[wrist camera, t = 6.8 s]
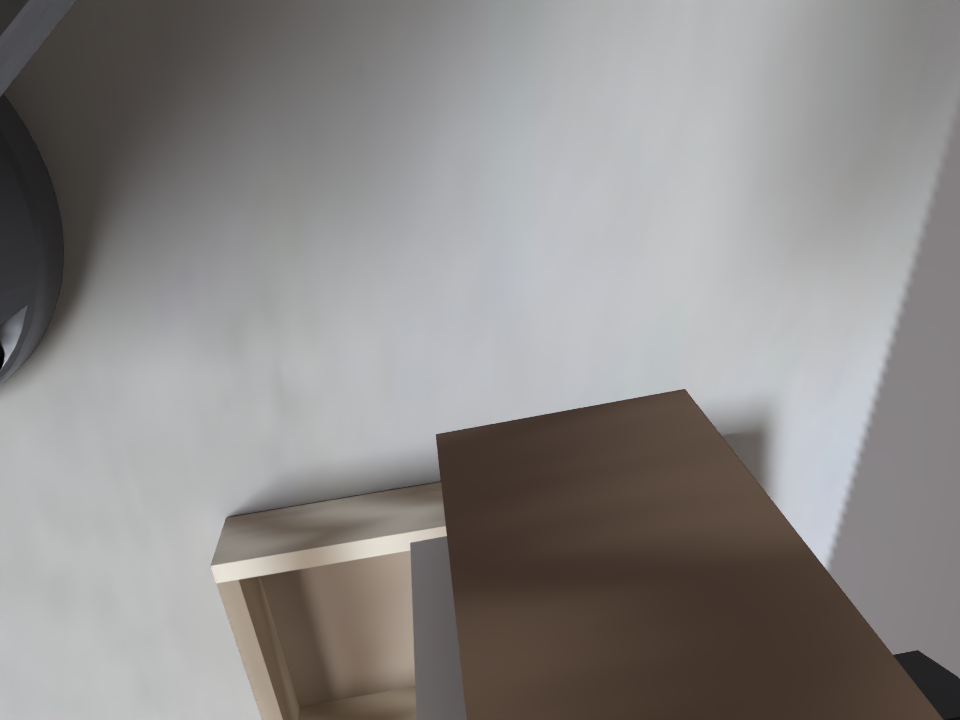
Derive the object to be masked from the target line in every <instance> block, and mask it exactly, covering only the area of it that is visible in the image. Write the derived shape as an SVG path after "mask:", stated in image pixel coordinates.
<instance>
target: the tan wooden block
mask: <svg viewBox="0 0 960 720" xmlns="http://www.w3.org/2000/svg"><path fill="white" fill-rule="evenodd" d="M436 440H437V449H438V459H439V468H440V477H441V486H442V496H443V505H444V514H445V523H446V533H447V542H448V551H449V560H450V570H451V579H452V588H453V598H454V607H455V616H456V625H457V635H458V644H459V653H460V662H461V672H462V681H463V690H464V700H465V709H466V718H467V720H943V719H942V717H941V716H940V715H939V713H938V712H937V711H936V710H935V708H934V707H933V706H932V704H931V703H930V702H929V701H928V699H927V698H926V697H925V696H924V694H923V693H922V692H921V690H920V689H919V688H918V687H917V685H916V684H915V683H914V681H913V680H912V679H911V678H910V676H909V675H908V674H907V673H906V671H905V670H904V669H903V667H902V666H901V665H900V664H899V662H898V661H897V660H896V658H895V657H894V656H893V655H892V653H891V652H890V651H889V649H888V648H887V647H886V646H885V644H884V643H883V642H882V641H881V639H880V638H879V637H878V635H877V634H876V633H875V632H874V630H873V629H872V628H871V627H870V625H869V624H868V623H867V621H866V620H865V619H864V618H863V616H862V615H861V614H860V612H859V611H858V610H857V609H856V607H855V606H854V605H853V604H852V602H851V601H850V600H849V599H848V597H847V596H846V595H845V593H844V592H843V591H842V589H841V588H840V587H839V586H838V584H837V583H836V582H835V581H834V579H833V578H832V577H831V575H830V574H829V573H828V571H827V570H826V569H825V568H824V566H823V565H822V564H821V563H820V561H819V560H818V559H817V557H816V556H815V555H814V554H813V552H812V551H811V550H810V548H809V547H808V546H807V545H806V543H805V542H804V541H803V540H802V538H801V537H800V536H799V534H798V533H797V532H796V531H795V529H794V528H793V527H792V525H791V524H790V523H789V522H788V520H787V519H786V518H785V516H784V515H783V514H782V513H781V511H780V510H779V509H778V508H777V506H776V505H775V504H774V502H773V501H772V500H771V499H770V497H769V496H768V495H767V493H766V492H765V491H764V490H763V488H762V487H761V486H760V485H759V483H758V482H757V481H756V479H755V478H754V477H753V476H752V474H751V473H750V472H749V470H748V469H747V468H746V467H745V465H744V464H743V463H742V461H741V460H740V459H739V458H738V456H737V455H736V454H735V453H734V451H733V450H732V449H731V447H730V446H729V445H728V444H727V442H726V441H725V440H724V438H723V437H722V436H721V435H720V433H719V432H718V431H717V430H716V428H715V427H714V426H713V424H712V423H711V422H710V421H709V419H708V418H707V417H706V415H705V414H704V413H703V412H702V410H701V409H700V408H699V406H698V405H697V404H696V403H695V401H694V400H693V399H692V398H691V396H690V395H689V394H688V392H687V391H686V390H685V389H682V390H677V391H671V392H666V393H660V394H655V395H649V396H644V397H638V398H633V399H627V400H622V401H616V402H611V403H606V404H600V405H595V406H589V407H584V408H578V409H573V410H567V411H562V412H556V413H551V414H545V415H540V416H534V417H529V418H523V419H518V420H512V421H507V422H501V423H496V424H490V425H485V426H479V427H474V428H468V429H463V430H457V431H452V432H446V433H441V434H436Z"/></svg>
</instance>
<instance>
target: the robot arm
mask: <svg viewBox="0 0 960 720" xmlns="http://www.w3.org/2000/svg"><path fill="white" fill-rule="evenodd" d="M76 1H77V0H0V386H1V385H2V384H3V383H4V382H5V381H6V380H7V379H8V378H9V377H10V376H11V375H12V374H13V373H14V372H15V371H17V370H18V369H19V367H20V366H21V365H22V364H23V363H24V362H25V361H26V360H27V359H28V357H29V356H30V355H31V353H32V352H33V351H34V349H35V348H36V346H37V345H38V343H39V342H40V340H41V338H42V337H43V335H44V333H45V331H46V329H47V327H48V325H49V323H50V321H51V318H52V315H53V313H54V310H55V307H56V304H57V300H58V296H59V293H60V287H61V282H62V274H63V264H64V244H63V230H62V224H61V217H60V212H59V207H58V203H57V199H56V195H55V192H54V188H53V185H52V182H51V179H50V176H49V174H48V171H47V169H46V166H45V163H44V161H43V159H42V157H41V155H40V153H39V150H38V148H37V146H36V144H35V142H34V141H33V139H32V137H31V135H30V133H29V132H28V130H27V128H26V126H25V125H24V123H23V122H22V120H21V118H20V117H19V115H18V114H17V112H16V111H15V109H14V108H13V107H12V105H11V104H10V102H9V101H8V100H7V98H6V97H5V96H4V94H3V93H4V92H5V90H6V89H7V88H8V87H9V85H10V84H11V83H12V82H13V80H14V79H15V78H16V77H17V75H18V74H19V73H20V71H21V70H22V69H23V68H24V66H25V65H26V64H27V63H28V61H29V60H30V59H31V58H32V56H33V55H34V54H35V52H36V51H37V50H38V49H39V47H40V46H41V45H42V44H43V42H44V41H45V40H46V39H47V37H48V36H49V35H50V34H51V32H52V31H53V30H54V28H55V27H56V26H57V25H58V23H59V22H60V21H61V20H62V18H63V17H64V16H65V15H66V13H67V12H68V11H69V10H70V8H71V7H72V6H73V4H74V3H75V2H76ZM410 553H411V580H412V608H413V636H414V664H415V692H416V720H467V718H466V709H465V700H464V690H463V681H462V672H461V662H460V653H459V644H458V635H457V625H456V616H455V607H454V598H453V588H452V579H451V570H450V560H449V551H448V542H447V536H444V537H438V538H433V539H428V540H422V541H417V542H411V543H410ZM893 656H894V657H895V658H896V660H897V661H898V662H899V664H900V665H901V666H902V667H903V669H904V670H905V671H906V673H907V674H908V675H909V676H910V678H911V679H912V680H913V681H914V683H915V684H916V685H917V687H918V688H919V689H920V690H921V692H922V693H923V694H924V696H925V697H926V698H927V699H928V701H929V702H930V703H931V704H932V706H933V707H934V708H935V710H936V711H937V712H938V713H939V715H940V716H941V717H942V719H943V720H960V679H959V678H958V677H957V676H956V675H954V674H953V673H951V672H950V671H948V670H947V669H945V668H944V667H942V666H941V665H939V664H938V663H936V662H935V661H933V660H932V659H930V658H929V657H927V656H926V655H924V654H923V653H921V652H920V651H918V650H917V651H911V652H906V653H901V654H896V655H893Z"/></svg>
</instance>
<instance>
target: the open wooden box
mask: <svg viewBox="0 0 960 720" xmlns="http://www.w3.org/2000/svg"><path fill="white" fill-rule="evenodd" d="M444 536H447V533H446V523H445V514H444V505H443V496H442V486H441V482H437V483H431V484H425V485H419V486H413V487H407V488H401V489H395V490H389V491H383V492H377V493H371V494H365V495H359V496H353V497H347V498H341V499H335V500H329V501H324V502H318V503H312V504H306V505H300V506H294V507H288V508H282V509H276V510H270V511H264V512H258V513H252V514H246V515H240V516H234V517H228V518H226V520H225V523H224V526H223V529H222V532H221V535H220V538H219V541H218V545H217V548H216V551H215V554H214V557H213V560H212V563H211V569H212V572H213V575H214V578H215V581H216V584H217V587H218V590H219V593H220V596H221V599H222V602H223V605H224V608H225V611H226V614H227V617H228V620H229V623H230V626H231V629H232V632H233V635H234V638H235V641H236V644H237V647H238V650H239V653H240V656H241V659H242V662H243V665H244V668H245V671H246V674H247V677H248V680H249V683H250V686H251V689H252V692H253V695H254V698H255V701H256V704H257V707H258V710H259V713H260V716H261V719H262V720H416V692H415V664H414V636H413V608H412V580H411V553H410V543H411V542H417V541H422V540H428V539H433V538H438V537H444Z"/></svg>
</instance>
